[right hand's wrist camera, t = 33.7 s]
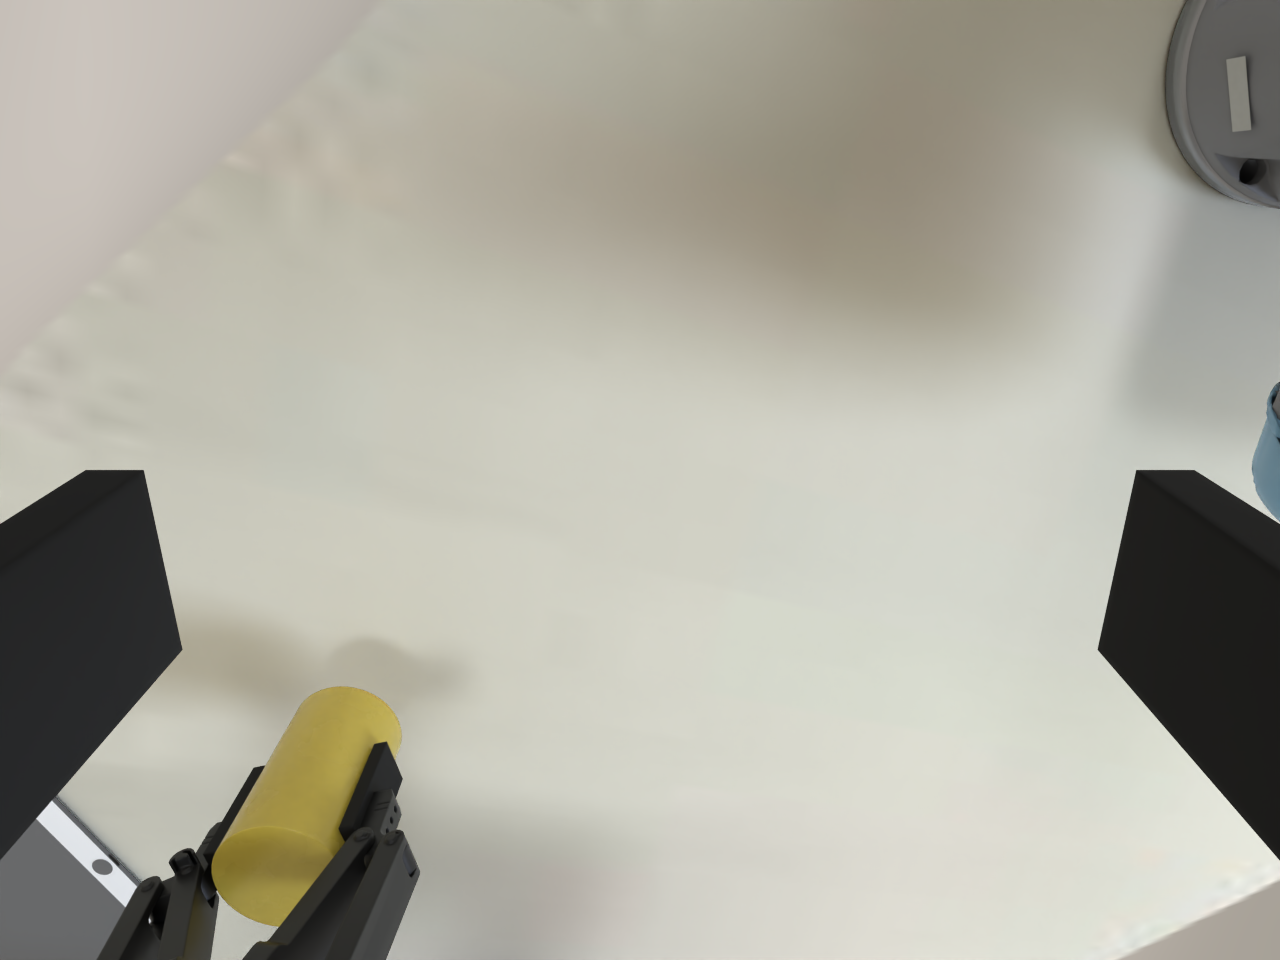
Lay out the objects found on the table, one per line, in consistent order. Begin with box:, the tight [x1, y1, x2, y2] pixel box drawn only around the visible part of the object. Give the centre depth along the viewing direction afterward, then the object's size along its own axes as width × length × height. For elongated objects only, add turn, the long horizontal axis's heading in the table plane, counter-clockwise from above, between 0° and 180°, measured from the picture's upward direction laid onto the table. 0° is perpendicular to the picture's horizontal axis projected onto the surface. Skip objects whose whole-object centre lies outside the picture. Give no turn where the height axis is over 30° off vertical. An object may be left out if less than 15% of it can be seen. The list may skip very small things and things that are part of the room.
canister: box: [212, 687, 402, 927], centre depth 50 cm, size 6×6×12 cm
